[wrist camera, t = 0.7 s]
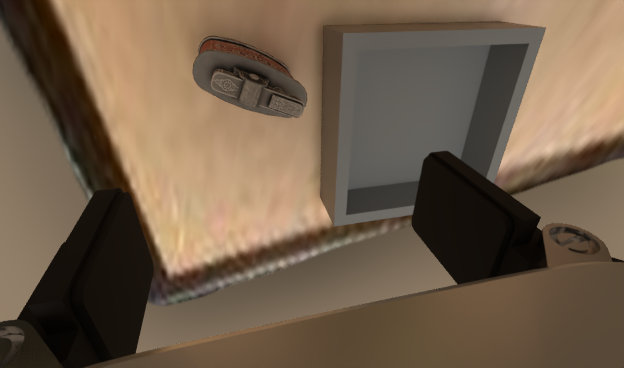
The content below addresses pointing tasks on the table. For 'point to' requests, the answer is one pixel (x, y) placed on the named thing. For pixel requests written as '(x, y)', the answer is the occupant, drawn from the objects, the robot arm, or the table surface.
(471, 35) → the bin
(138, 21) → the table surface
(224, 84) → the lighter
